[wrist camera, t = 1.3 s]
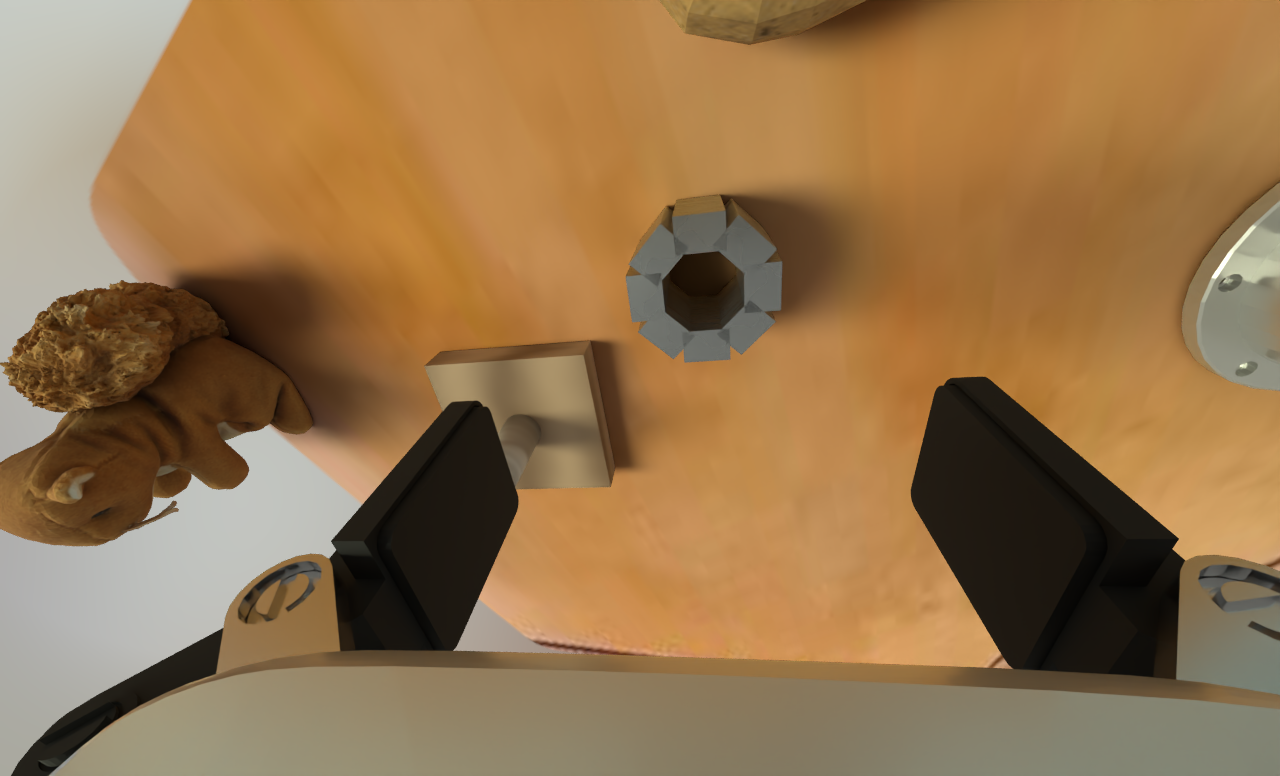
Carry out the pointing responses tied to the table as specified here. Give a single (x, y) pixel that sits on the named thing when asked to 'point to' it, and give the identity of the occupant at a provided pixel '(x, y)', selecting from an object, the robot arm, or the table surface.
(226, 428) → the stuffed squirrel
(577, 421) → the shaft stand
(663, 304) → the hub
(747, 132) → the table surface
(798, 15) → the potato
